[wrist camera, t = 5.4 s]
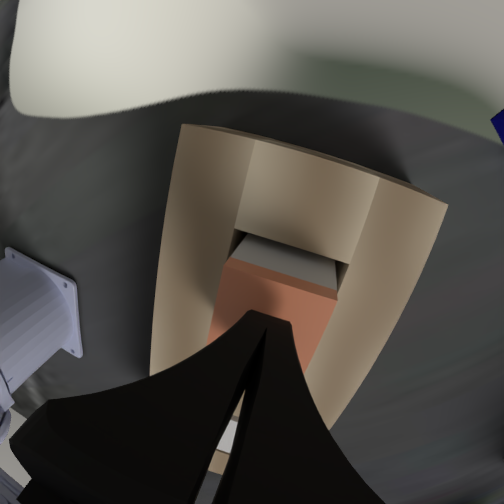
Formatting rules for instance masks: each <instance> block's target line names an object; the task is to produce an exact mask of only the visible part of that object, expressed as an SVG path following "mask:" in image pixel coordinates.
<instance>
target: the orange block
mask: <svg viewBox="0 0 504 504" xmlns="http://www.w3.org/2000/svg"><path fill="white" fill-rule="evenodd" d="M337 301H338V298H337V282H336V268H335V259H332V258H329V257H325V256H322V255H319V254H316V253H313V252H310V251H306V250H303V249H300V248H297V247H294V246H290V245H287V244H284V243H281V242H278V241H274V240H271V239H268V238H265V237H261V236H258V235H255V234H252V233H248V234H247V235H246V237H245V238H244V239H243V241H242V242H241V243H240V244H239V246H238V247H237V248H236V250H235V251H234V252H233V254H232V255H231V256H230V257H229V259H228V260H227V261H226V263H225V264H224V266H223V270H222V275H221V279H220V284H219V288H218V293H217V297H216V302H215V306H214V311H213V316H212V320H211V325H210V330H209V334H208V339H207V344H206V346H207V345H209V344H210V343H212V342H213V341H214V340H216V339H217V338H218V337H219V336H221V335H222V334H223V333H225V332H226V331H227V330H228V329H230V328H231V327H232V326H233V325H234V324H235V323H236V322H237V321H238V320H239V319H240V318H241V317H242V316H243V315H244V314H245V313H246V312H247V311H248V310H251V309H252V310H255V311H258V312H261V313H264V314H268V315H271V316H274V317H277V318H280V319H283V320H287V321H290V323H291V325H292V330H293V336H294V342H295V346H296V350H297V354H298V358H299V361H300V364H301V368H302V371H303V374H304V373H305V371H306V369H307V367H308V365H309V363H310V361H311V359H312V357H313V355H314V353H315V351H316V348H317V346H318V344H319V342H320V340H321V338H322V335H323V333H324V331H325V329H326V327H327V324H328V322H329V320H330V318H331V315H332V313H333V311H334V308H335V306H336V304H337Z"/></svg>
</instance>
